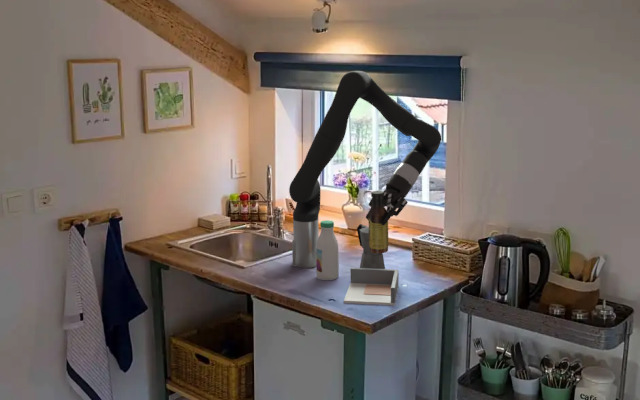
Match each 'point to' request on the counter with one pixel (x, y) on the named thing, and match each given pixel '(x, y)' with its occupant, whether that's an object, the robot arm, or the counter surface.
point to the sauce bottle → (377, 224)
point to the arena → (373, 286)
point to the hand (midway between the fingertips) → (374, 221)
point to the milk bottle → (327, 252)
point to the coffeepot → (368, 251)
